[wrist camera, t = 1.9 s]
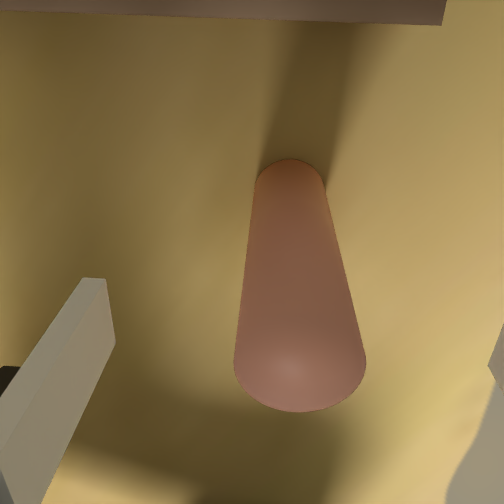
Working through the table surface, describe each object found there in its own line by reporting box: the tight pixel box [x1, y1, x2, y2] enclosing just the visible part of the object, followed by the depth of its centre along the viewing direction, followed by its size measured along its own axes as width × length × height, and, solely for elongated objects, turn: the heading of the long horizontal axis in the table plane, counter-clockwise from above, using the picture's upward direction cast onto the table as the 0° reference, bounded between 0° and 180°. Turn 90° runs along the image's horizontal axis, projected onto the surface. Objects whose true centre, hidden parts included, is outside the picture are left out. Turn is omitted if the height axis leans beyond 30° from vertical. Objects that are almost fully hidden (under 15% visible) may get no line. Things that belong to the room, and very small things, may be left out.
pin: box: [234, 159, 366, 412], centre depth 20 cm, size 4×4×14 cm
